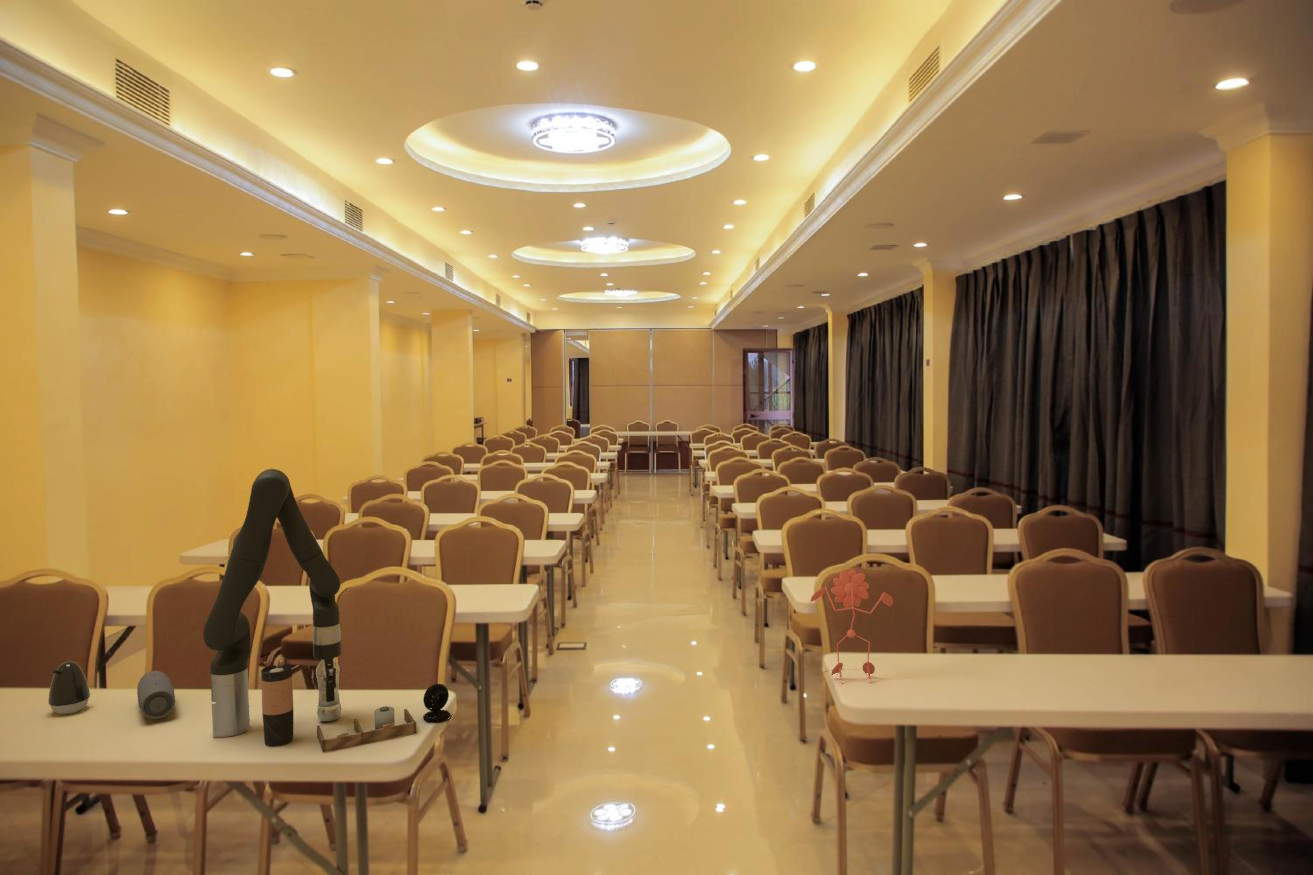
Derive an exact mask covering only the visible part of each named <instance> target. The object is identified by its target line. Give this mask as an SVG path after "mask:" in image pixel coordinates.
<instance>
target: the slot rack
mask: <svg viewBox="0 0 1313 875" xmlns="http://www.w3.org/2000/svg"><path fill="white" fill-rule="evenodd" d="M403 716H404V717H403V719H404V720H403V721H405V723H402V724H397V725H396V724H394V723H392V724H386V725H383V728H381V729H376V730H375V729H373V730H371V729H370V730H367V731H364V730H363V728H362V727H361V724H360V722H359V720H358V718H353V729H354V732H355V733H351V734H350V732H349V731H347V732H346V731H345V732H341V733H336V737H331V738H326V739H325V737H324V733H323V732H322V729H321V726H320V725H316V738H317V740H318V743H319V746H320V748H321V752H322V753H326V752H331V751H337V750H340V749H346V748H347V749H348V748H351V747H356V746H360V745H361V746H362V745H366V744H371V743H376V742H380V741H381V742H382V741H385V740H390V739H395V738H400V737H405V736H410V735H416V734H417V722H416V720H415V719H414V718H413V716H412V715H411V713H410V712H409V710H408V708H404V709H403Z"/></svg>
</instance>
